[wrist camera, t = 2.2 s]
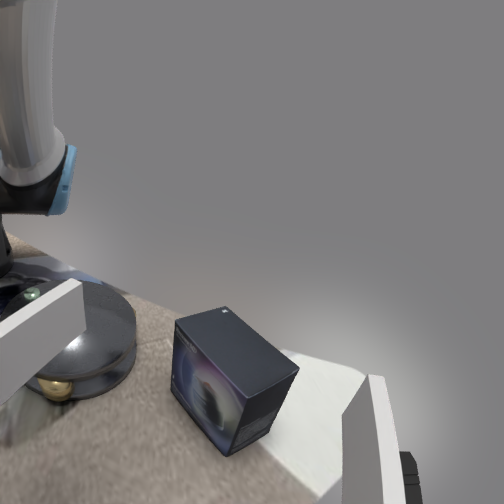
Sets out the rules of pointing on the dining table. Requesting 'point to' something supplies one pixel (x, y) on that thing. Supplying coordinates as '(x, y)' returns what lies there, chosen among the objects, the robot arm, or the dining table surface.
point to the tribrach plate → (87, 345)
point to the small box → (228, 377)
